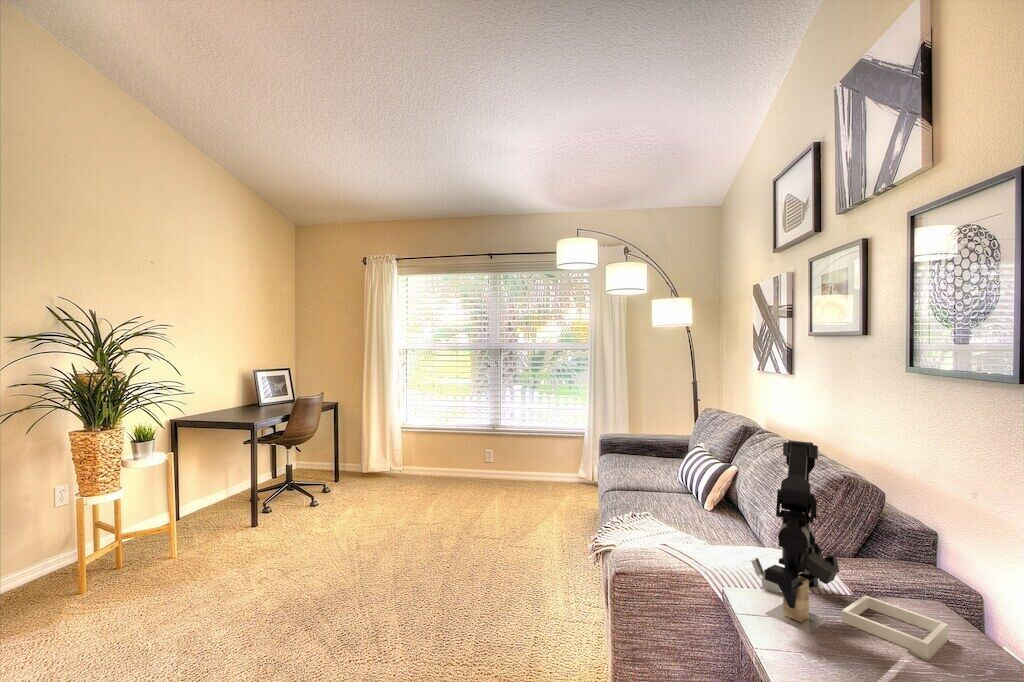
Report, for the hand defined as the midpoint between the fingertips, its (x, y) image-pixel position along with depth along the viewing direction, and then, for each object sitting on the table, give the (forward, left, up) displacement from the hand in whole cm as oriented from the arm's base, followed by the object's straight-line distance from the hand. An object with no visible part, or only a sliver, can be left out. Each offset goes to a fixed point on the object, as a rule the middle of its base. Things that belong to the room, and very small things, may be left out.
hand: (796, 605), depth 116 cm
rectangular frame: (+15, +14, -4) cm, 21 cm away
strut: (0, 0, -2) cm, 2 cm away
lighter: (-12, +9, -4) cm, 16 cm away
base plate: (0, 0, -4) cm, 4 cm away
